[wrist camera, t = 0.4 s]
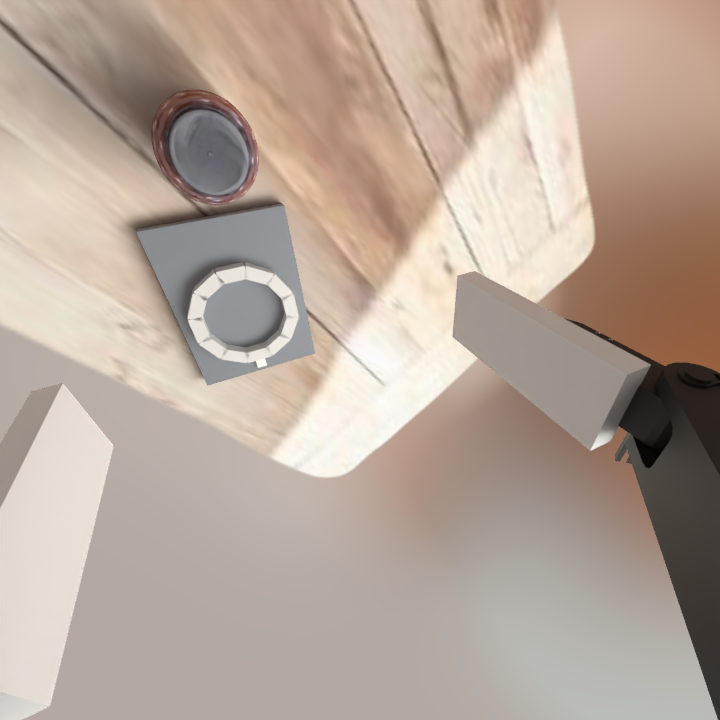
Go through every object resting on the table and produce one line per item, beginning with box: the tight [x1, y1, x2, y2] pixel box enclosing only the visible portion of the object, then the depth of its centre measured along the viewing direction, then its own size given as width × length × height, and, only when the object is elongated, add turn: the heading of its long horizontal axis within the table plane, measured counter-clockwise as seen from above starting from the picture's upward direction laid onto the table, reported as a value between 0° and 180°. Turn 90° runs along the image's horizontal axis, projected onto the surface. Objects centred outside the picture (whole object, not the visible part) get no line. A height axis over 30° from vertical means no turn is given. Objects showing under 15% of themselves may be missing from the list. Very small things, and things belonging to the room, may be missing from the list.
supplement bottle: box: [152, 90, 259, 205], centre depth 23 cm, size 6×6×11 cm
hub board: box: [136, 203, 315, 385], centre depth 33 cm, size 16×12×2 cm
